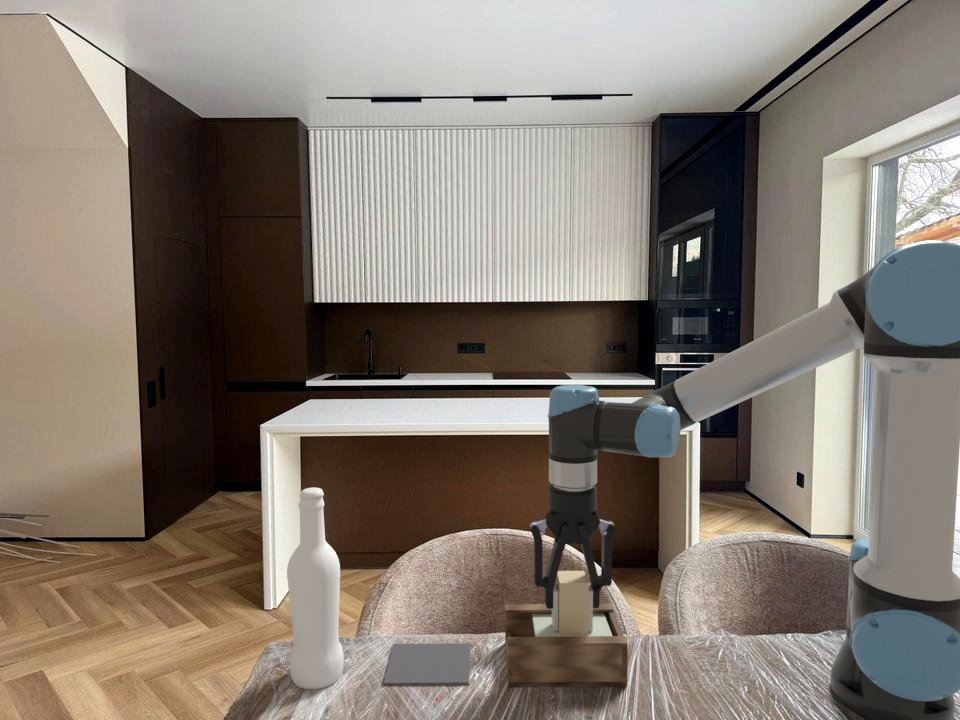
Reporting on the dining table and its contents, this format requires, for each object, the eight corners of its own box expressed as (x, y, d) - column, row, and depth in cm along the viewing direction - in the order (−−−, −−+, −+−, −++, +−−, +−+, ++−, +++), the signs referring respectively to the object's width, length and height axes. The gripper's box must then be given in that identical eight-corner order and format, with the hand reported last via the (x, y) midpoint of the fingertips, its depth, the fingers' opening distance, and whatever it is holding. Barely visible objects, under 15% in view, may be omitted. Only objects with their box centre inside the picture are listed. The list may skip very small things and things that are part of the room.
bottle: (281, 675, 100) (273, 489, 97) (328, 655, 105) (321, 478, 102) (305, 699, 94) (298, 501, 91) (353, 677, 99) (348, 489, 96)
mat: (470, 645, 108) (470, 643, 108) (468, 684, 97) (468, 682, 97) (393, 646, 108) (393, 643, 108) (383, 685, 97) (383, 682, 97)
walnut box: (610, 642, 108) (611, 603, 108) (627, 686, 96) (627, 643, 95) (505, 643, 108) (505, 604, 108) (508, 687, 96) (507, 643, 95)
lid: (603, 618, 107) (604, 563, 106) (615, 650, 97) (616, 591, 96) (532, 618, 107) (532, 564, 106) (537, 651, 97) (537, 591, 96)
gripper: (624, 477, 103) (622, 614, 105) (514, 478, 103) (515, 615, 105) (635, 491, 96) (633, 638, 98) (517, 492, 96) (517, 639, 98)
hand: (571, 626), depth 102 cm, fingers closed on lid, 5 cm apart
